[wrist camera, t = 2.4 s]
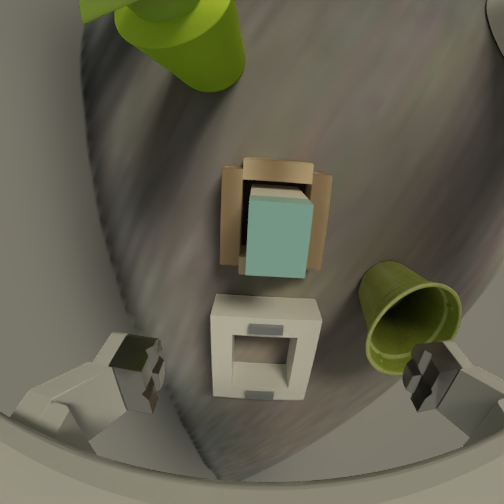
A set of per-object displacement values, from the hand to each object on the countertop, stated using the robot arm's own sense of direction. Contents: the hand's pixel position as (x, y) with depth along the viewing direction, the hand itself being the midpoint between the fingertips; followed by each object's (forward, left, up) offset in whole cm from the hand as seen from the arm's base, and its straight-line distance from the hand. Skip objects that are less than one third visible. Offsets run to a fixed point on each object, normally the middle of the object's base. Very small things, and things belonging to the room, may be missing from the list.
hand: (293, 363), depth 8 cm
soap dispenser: (+6, -13, -19) cm, 24 cm away
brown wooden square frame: (0, 0, -19) cm, 19 cm away
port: (0, +14, -19) cm, 24 cm away
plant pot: (-13, +7, -19) cm, 24 cm away
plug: (0, 0, -19) cm, 19 cm away
